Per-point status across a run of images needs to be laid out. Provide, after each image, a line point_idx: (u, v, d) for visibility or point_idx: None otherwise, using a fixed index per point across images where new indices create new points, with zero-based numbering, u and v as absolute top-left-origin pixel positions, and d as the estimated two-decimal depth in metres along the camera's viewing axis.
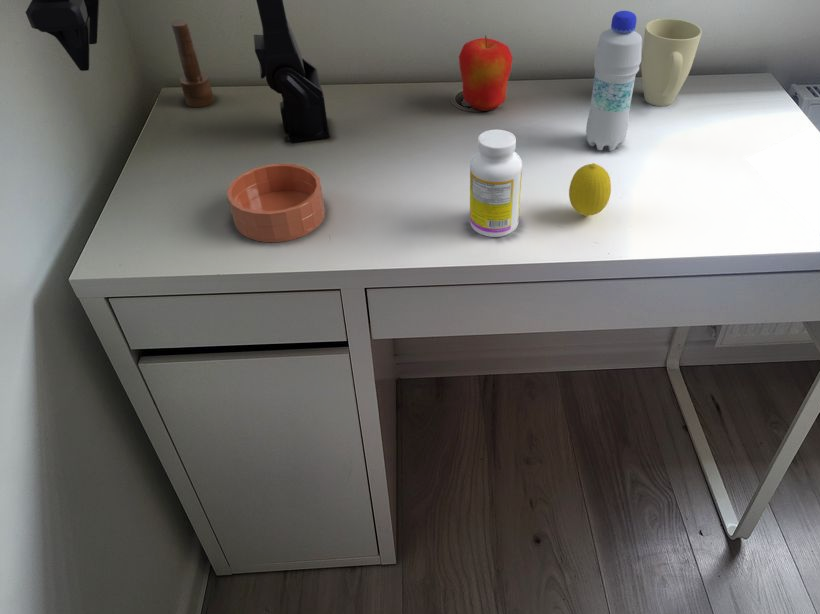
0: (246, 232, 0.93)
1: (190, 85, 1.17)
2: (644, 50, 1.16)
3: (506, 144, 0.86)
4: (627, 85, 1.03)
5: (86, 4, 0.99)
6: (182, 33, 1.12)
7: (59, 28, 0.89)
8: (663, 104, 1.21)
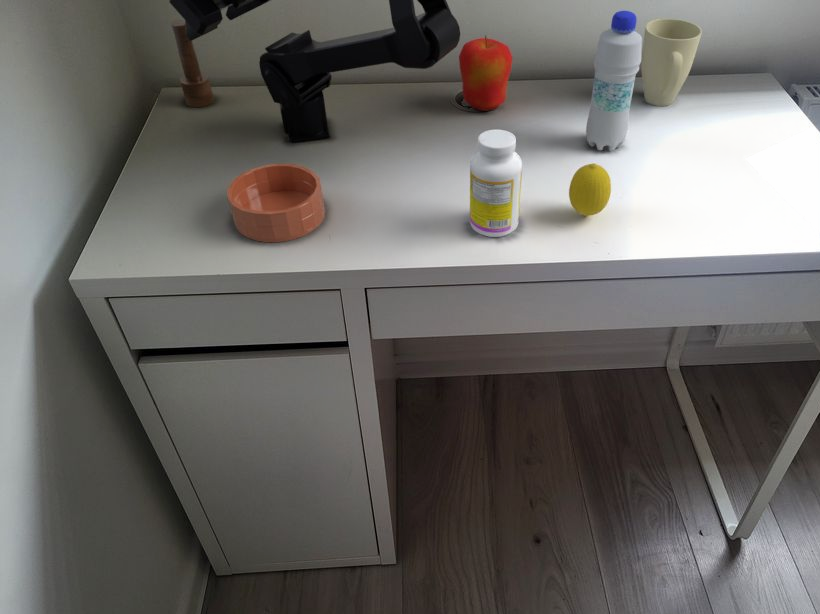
0: (246, 232, 0.93)
1: (190, 85, 1.17)
2: (644, 50, 1.16)
3: (506, 143, 0.86)
4: (627, 85, 1.03)
5: None
6: (182, 33, 1.12)
7: None
8: (663, 104, 1.21)
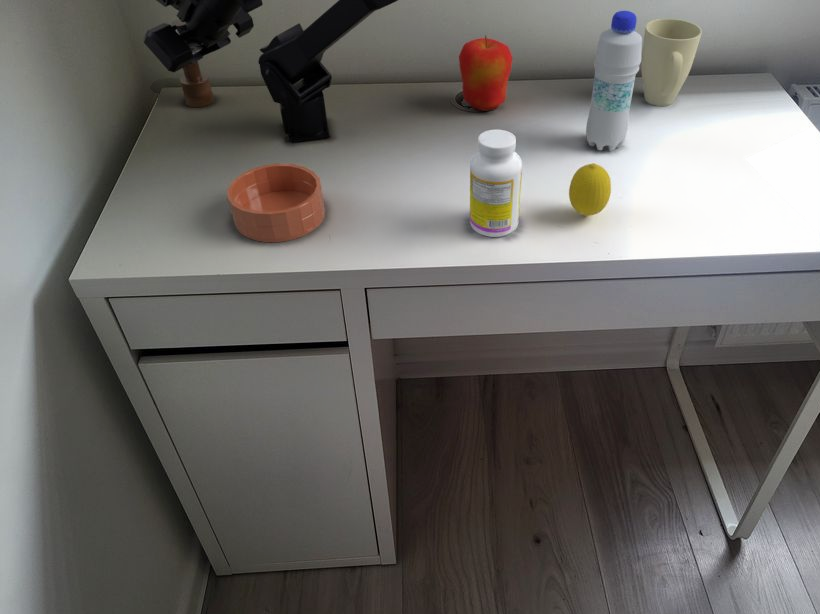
0: (246, 232, 0.93)
1: (190, 85, 1.17)
2: (644, 50, 1.16)
3: (506, 144, 0.86)
4: (627, 85, 1.03)
5: None
6: None
7: None
8: (663, 104, 1.21)
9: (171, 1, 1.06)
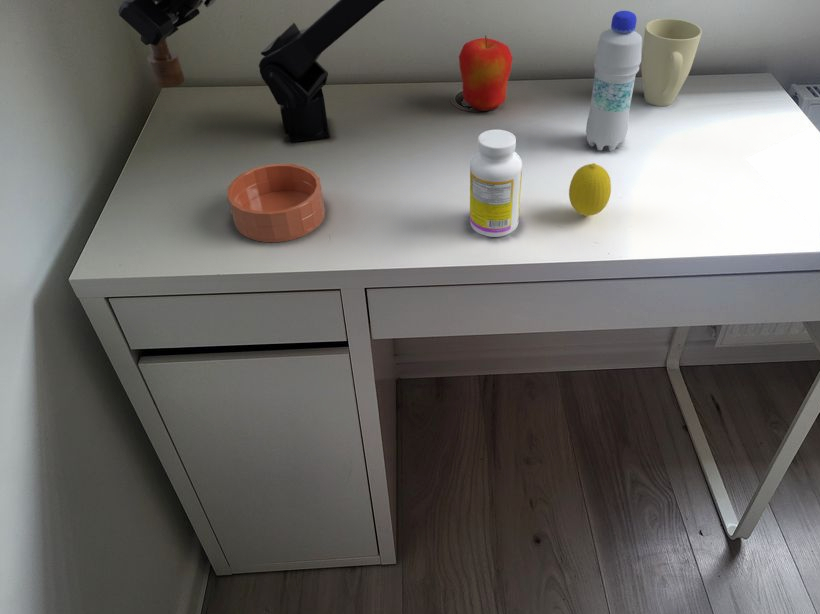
0: (246, 232, 0.93)
1: (161, 63, 1.09)
2: (644, 50, 1.16)
3: (506, 143, 0.86)
4: (627, 85, 1.03)
5: None
6: None
7: None
8: (663, 104, 1.21)
9: None
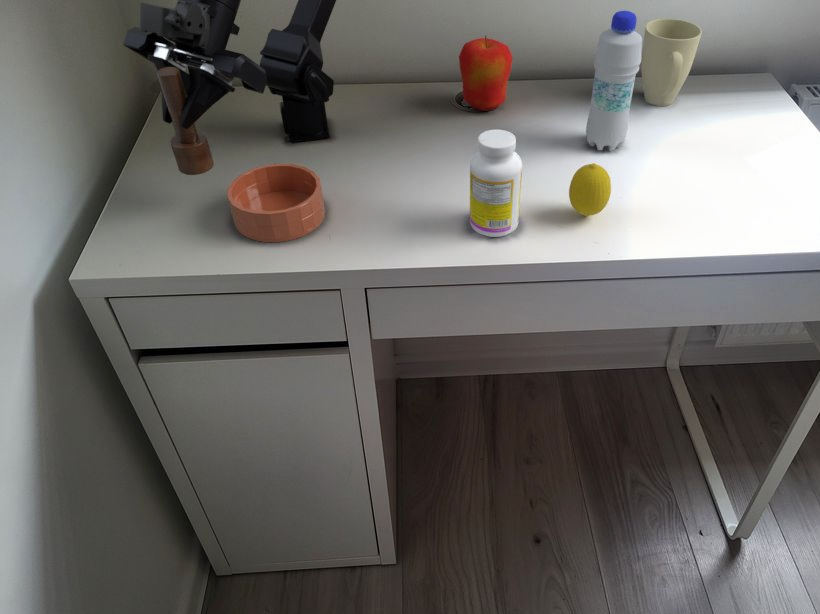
0: (246, 232, 0.93)
1: (205, 140, 0.93)
2: (644, 50, 1.16)
3: (506, 143, 0.86)
4: (627, 85, 1.03)
5: None
6: (181, 79, 0.87)
7: (220, 80, 0.88)
8: (663, 104, 1.21)
9: None
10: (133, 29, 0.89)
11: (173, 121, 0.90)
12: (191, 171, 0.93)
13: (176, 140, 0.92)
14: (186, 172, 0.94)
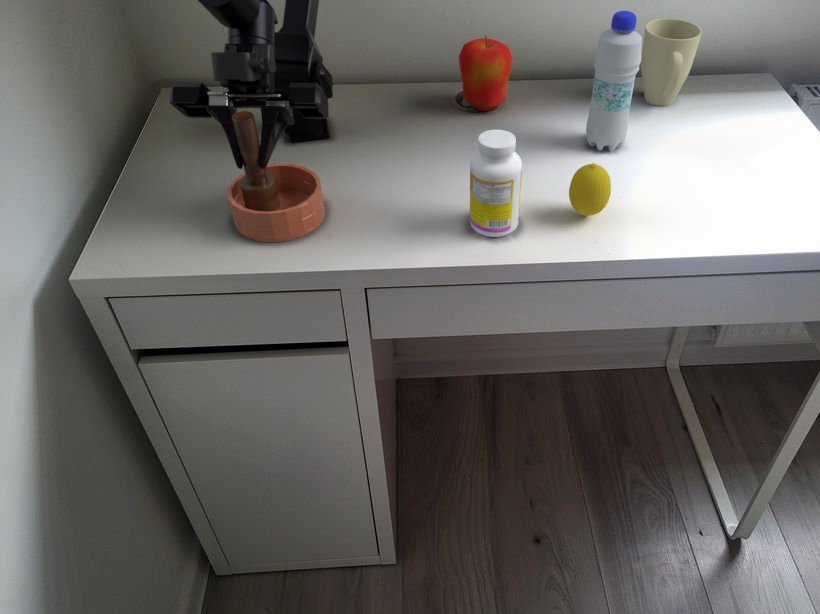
0: (246, 232, 0.93)
1: None
2: (644, 50, 1.16)
3: (506, 143, 0.86)
4: (627, 85, 1.03)
5: None
6: None
7: (289, 114, 0.90)
8: (663, 104, 1.21)
9: None
10: (177, 84, 0.87)
11: (249, 165, 0.90)
12: None
13: (247, 184, 0.92)
14: None
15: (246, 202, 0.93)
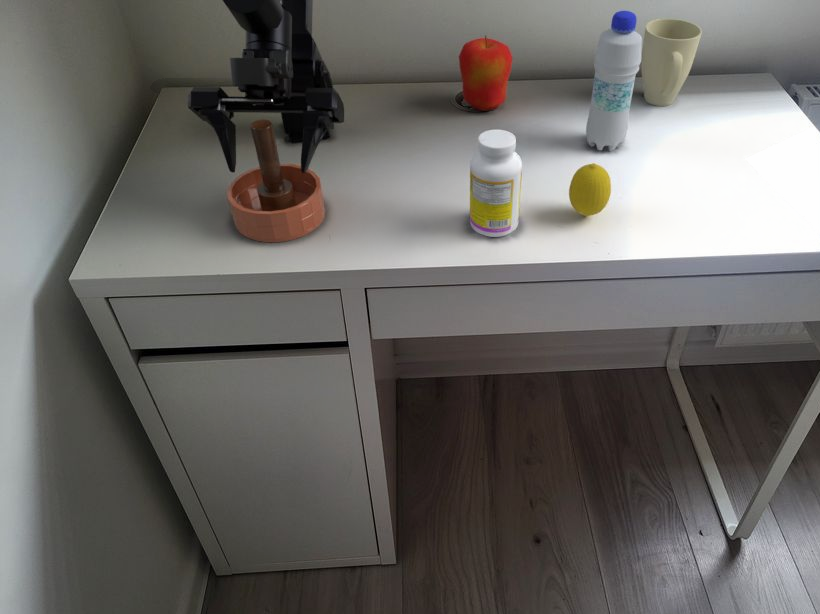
0: (246, 232, 0.93)
1: (291, 184, 0.95)
2: (644, 50, 1.16)
3: (506, 144, 0.86)
4: (627, 85, 1.03)
5: (232, 133, 0.92)
6: None
7: (330, 119, 0.91)
8: (663, 104, 1.21)
9: None
10: (195, 89, 0.88)
11: (266, 172, 0.91)
12: None
13: (265, 191, 0.94)
14: None
15: (263, 209, 0.95)
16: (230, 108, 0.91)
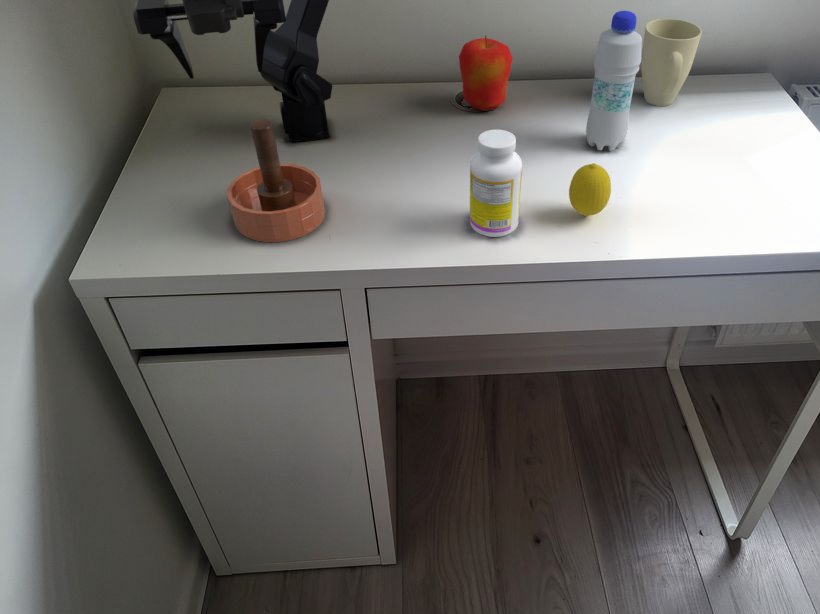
0: (246, 232, 0.93)
1: (291, 184, 0.95)
2: (644, 50, 1.16)
3: (506, 144, 0.86)
4: (627, 85, 1.03)
5: (179, 37, 0.95)
6: None
7: None
8: (663, 104, 1.21)
9: None
10: (140, 15, 0.89)
11: (266, 172, 0.91)
12: None
13: (265, 191, 0.94)
14: None
15: (263, 209, 0.95)
16: None
